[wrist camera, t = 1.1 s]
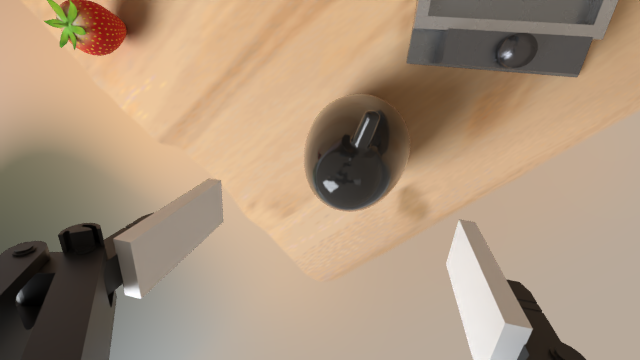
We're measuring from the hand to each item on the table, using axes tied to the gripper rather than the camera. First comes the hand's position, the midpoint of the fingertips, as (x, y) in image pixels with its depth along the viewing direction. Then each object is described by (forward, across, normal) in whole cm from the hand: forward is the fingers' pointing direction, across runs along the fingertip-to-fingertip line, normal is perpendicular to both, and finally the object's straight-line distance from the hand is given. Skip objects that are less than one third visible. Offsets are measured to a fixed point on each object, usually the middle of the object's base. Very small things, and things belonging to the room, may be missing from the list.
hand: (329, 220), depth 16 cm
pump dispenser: (+20, 0, 0) cm, 20 cm away
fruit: (+20, -30, +9) cm, 37 cm away
